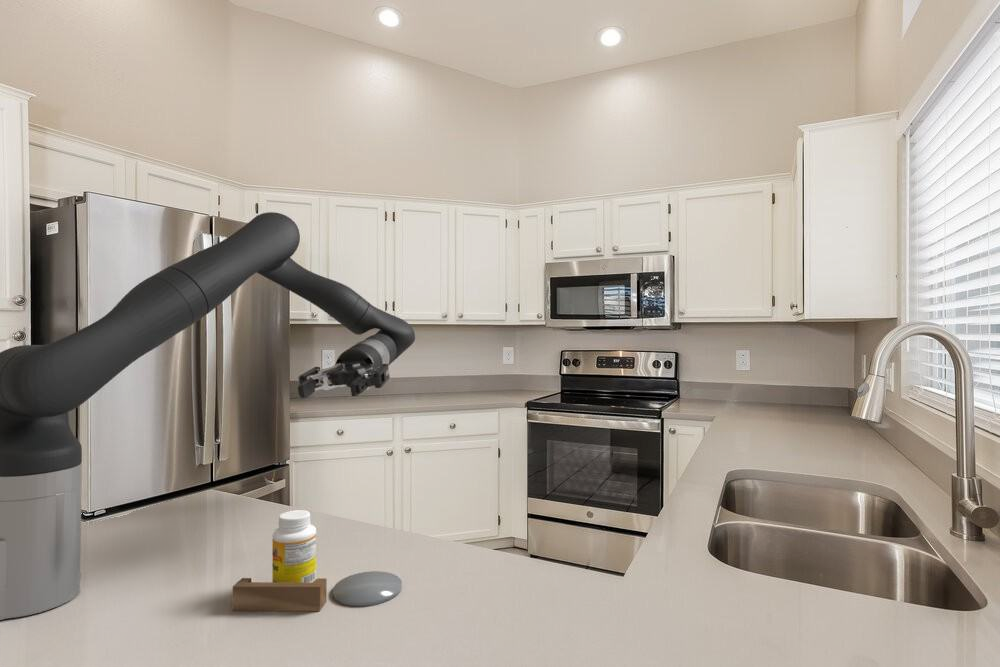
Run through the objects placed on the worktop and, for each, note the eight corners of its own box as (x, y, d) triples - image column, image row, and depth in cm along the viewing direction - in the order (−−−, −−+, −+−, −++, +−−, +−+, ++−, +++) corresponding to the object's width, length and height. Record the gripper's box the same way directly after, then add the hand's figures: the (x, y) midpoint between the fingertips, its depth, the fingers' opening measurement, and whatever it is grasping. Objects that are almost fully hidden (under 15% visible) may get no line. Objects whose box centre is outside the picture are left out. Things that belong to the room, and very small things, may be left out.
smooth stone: (362, 613, 66) (362, 608, 66) (319, 593, 71) (319, 588, 71) (415, 586, 73) (415, 582, 73) (372, 570, 78) (372, 566, 78)
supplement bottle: (274, 583, 74) (274, 509, 74) (316, 578, 76) (317, 506, 76) (269, 602, 69) (270, 522, 69) (315, 596, 70) (315, 518, 70)
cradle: (242, 601, 69) (242, 578, 69) (326, 601, 69) (326, 578, 69) (232, 610, 66) (232, 586, 67) (319, 611, 66) (320, 586, 66)
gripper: (324, 345, 99) (280, 370, 83) (398, 341, 97) (367, 366, 82) (330, 383, 101) (288, 415, 85) (403, 380, 99) (373, 412, 83)
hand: (327, 391), depth 83 cm, fingers open, 8 cm apart
